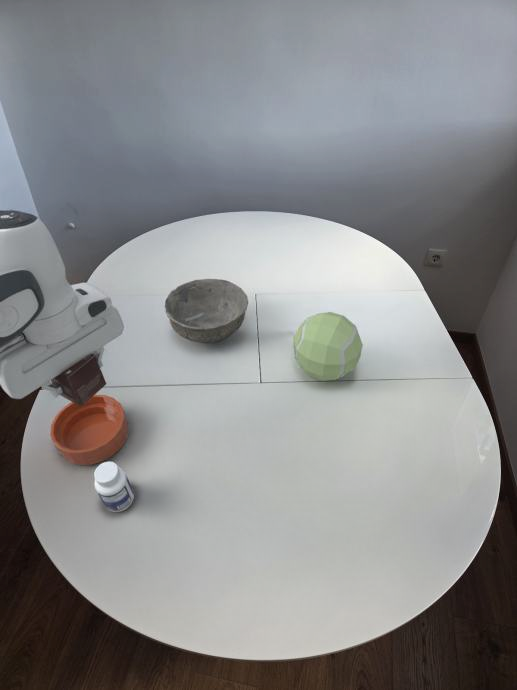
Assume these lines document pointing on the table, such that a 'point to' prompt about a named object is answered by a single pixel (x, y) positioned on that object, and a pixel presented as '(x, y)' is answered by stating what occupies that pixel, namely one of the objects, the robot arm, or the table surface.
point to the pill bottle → (113, 487)
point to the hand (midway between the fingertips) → (78, 379)
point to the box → (81, 380)
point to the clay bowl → (90, 430)
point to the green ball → (327, 346)
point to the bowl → (206, 309)
